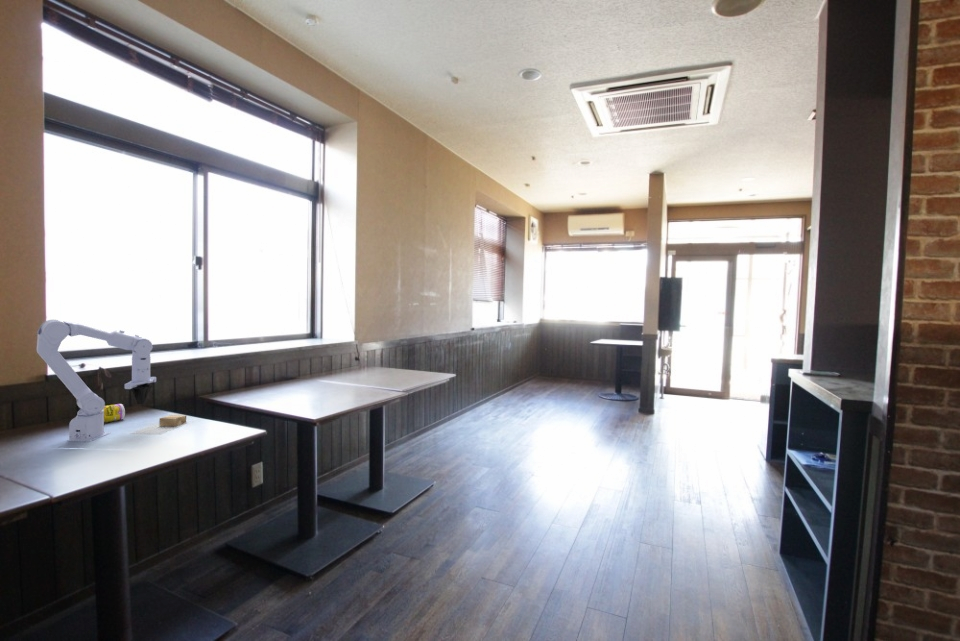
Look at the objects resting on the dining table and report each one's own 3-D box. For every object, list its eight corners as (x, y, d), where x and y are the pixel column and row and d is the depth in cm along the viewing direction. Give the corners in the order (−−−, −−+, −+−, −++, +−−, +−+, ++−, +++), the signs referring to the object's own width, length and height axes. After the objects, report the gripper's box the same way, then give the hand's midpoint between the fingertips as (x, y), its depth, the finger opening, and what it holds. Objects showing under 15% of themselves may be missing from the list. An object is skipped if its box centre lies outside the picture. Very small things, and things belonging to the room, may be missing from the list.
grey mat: (160, 435, 166) (161, 434, 166) (130, 434, 166) (130, 433, 166) (180, 426, 178) (180, 425, 178) (152, 425, 178) (152, 424, 178)
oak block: (175, 418, 176) (186, 415, 183) (159, 418, 175) (171, 414, 183) (174, 426, 176) (186, 422, 183) (159, 425, 175) (170, 422, 183)
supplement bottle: (126, 414, 181) (86, 421, 170) (122, 422, 184) (81, 429, 173) (122, 400, 183) (82, 406, 172) (118, 408, 186) (78, 414, 175)
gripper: (138, 372, 164) (138, 408, 165) (164, 366, 179) (164, 399, 180) (118, 371, 164) (118, 408, 165) (146, 365, 178) (145, 399, 179)
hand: (141, 403), depth 172 cm, fingers closed
